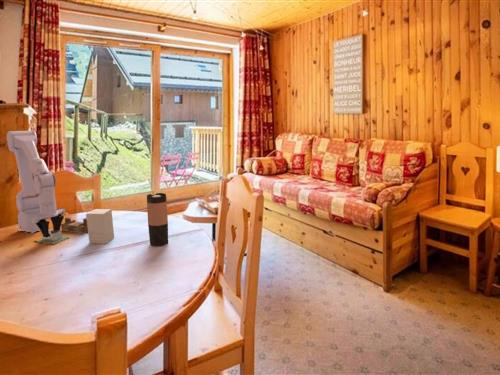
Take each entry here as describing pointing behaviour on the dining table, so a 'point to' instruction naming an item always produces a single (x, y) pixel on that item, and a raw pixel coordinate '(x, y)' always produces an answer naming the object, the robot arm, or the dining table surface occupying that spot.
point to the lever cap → (53, 235)
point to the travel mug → (157, 219)
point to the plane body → (75, 225)
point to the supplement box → (100, 226)
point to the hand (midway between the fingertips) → (51, 234)
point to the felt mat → (54, 241)
